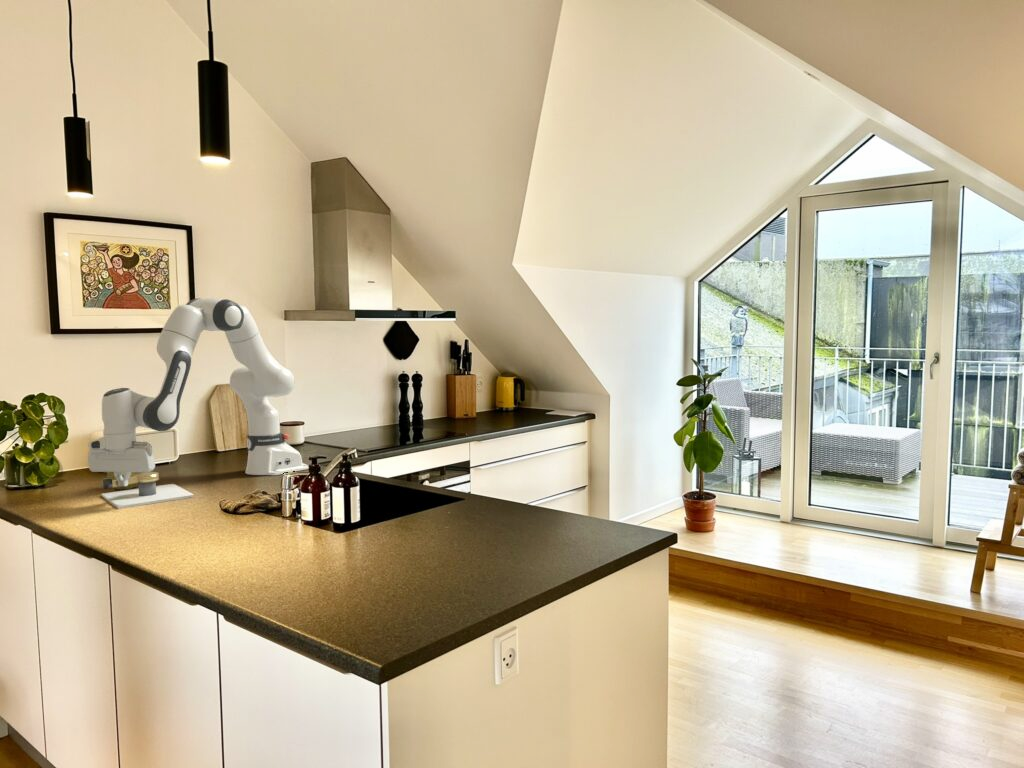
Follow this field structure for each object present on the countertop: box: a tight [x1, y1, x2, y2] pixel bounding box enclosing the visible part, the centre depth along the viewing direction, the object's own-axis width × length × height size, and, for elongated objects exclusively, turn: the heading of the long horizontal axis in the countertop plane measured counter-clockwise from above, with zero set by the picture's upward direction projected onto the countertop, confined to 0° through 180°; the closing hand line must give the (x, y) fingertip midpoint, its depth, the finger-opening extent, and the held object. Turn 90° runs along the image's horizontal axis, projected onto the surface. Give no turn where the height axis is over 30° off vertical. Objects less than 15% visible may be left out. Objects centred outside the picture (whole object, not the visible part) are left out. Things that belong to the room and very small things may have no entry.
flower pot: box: [106, 472, 143, 490], centre depth 255 cm, size 9×9×9 cm
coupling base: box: [101, 481, 195, 510], centre depth 242 cm, size 22×22×5 cm
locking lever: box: [102, 471, 160, 490], centre depth 238 cm, size 17×7×3 cm, turn 146°
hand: (123, 485), depth 233 cm, fingers closed
